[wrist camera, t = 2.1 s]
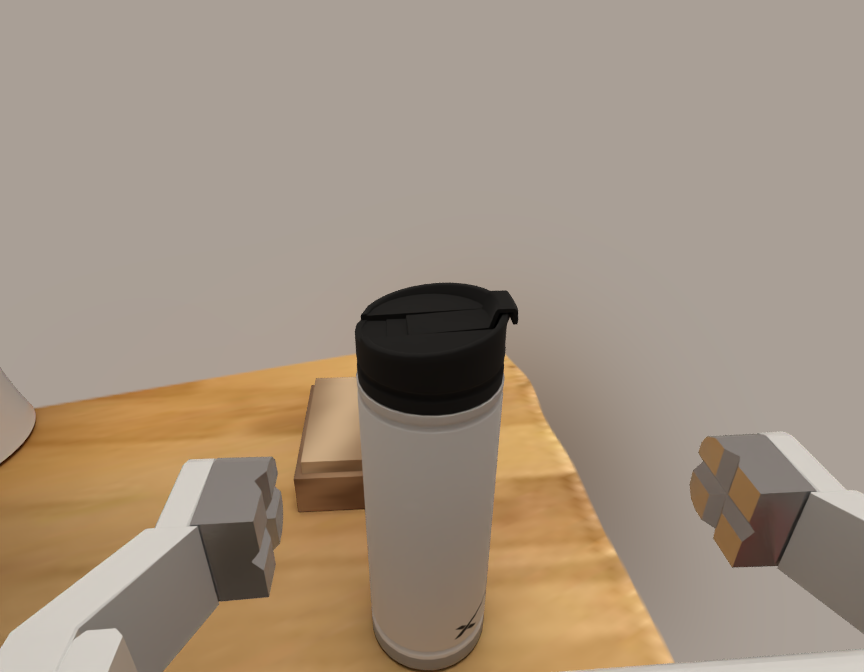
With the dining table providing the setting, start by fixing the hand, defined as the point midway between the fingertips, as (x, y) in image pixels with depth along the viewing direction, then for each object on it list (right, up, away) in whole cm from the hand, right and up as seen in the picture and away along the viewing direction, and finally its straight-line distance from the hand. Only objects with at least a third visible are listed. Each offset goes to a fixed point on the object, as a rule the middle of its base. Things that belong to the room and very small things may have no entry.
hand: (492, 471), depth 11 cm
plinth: (-5, -7, +34) cm, 35 cm away
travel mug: (-1, -14, +22) cm, 26 cm away
